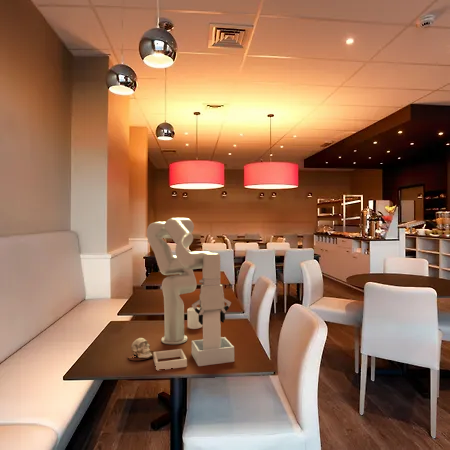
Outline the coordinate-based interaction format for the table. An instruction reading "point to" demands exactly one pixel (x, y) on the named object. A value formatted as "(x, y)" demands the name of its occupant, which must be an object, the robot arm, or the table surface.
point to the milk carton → (211, 329)
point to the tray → (171, 363)
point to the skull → (141, 349)
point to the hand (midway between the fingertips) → (211, 322)
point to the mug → (193, 318)
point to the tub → (212, 353)
